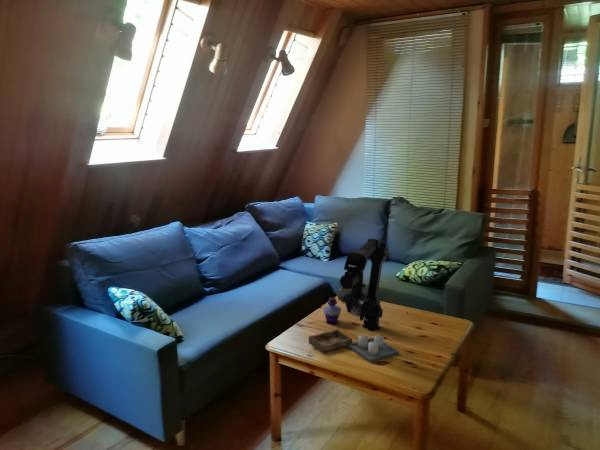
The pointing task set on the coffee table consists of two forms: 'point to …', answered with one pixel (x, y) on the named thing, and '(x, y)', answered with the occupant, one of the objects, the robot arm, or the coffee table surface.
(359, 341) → the stone
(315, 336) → the walnut box
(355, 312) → the crystal cluster
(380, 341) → the stone
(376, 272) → the robot arm
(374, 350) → the stone
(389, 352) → the slate tray
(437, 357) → the coffee table surface
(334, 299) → the potion bottle
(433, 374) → the coffee table surface
